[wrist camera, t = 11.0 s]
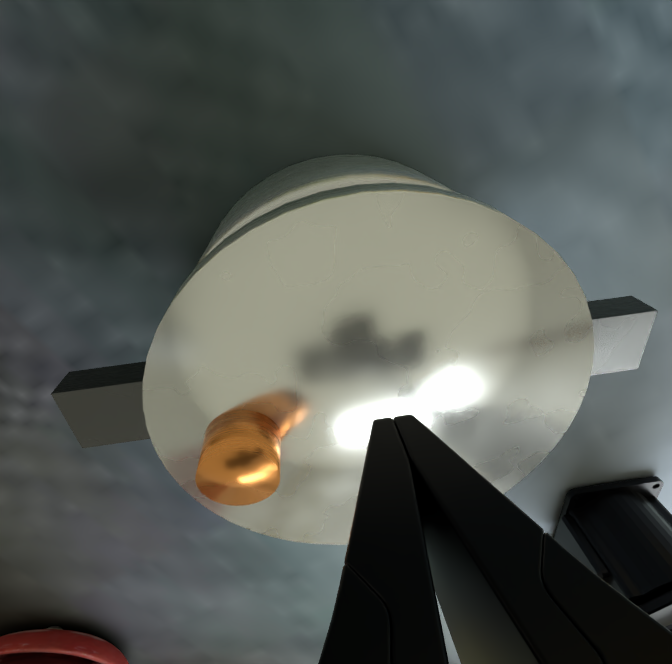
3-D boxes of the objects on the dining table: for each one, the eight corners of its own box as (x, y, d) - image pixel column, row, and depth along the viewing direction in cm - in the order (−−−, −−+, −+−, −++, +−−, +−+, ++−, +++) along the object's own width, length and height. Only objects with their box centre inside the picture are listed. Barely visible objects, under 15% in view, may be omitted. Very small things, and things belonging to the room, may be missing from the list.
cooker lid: (627, 151, 10) (722, 171, 8) (533, 493, 17) (569, 552, 15) (70, 219, 9) (6, 260, 7) (216, 542, 16) (206, 611, 14)
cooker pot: (582, 125, 16) (725, 137, 11) (530, 397, 23) (602, 484, 18) (66, 186, 15) (-51, 230, 10) (175, 449, 22) (140, 556, 17)
